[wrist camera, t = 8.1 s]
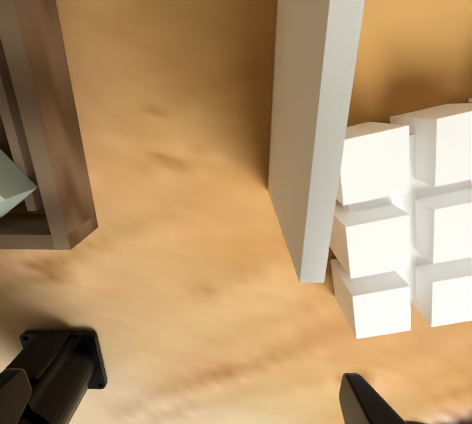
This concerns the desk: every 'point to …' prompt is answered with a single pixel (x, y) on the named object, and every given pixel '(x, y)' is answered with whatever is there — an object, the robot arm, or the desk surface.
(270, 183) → the sheet
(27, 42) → the tray
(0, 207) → the offcut upper
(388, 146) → the organizer
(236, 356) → the desk surface
